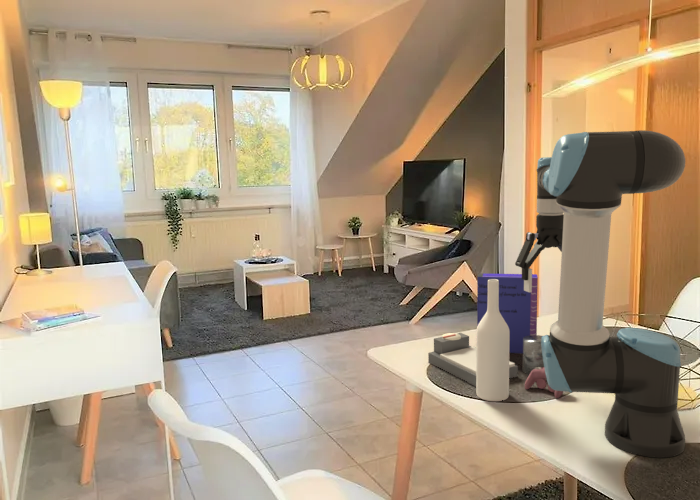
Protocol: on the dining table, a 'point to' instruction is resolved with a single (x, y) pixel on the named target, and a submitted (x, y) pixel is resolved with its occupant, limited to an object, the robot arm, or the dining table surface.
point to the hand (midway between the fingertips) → (549, 289)
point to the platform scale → (459, 357)
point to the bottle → (492, 350)
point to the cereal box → (511, 305)
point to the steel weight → (532, 353)
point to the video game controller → (540, 380)
